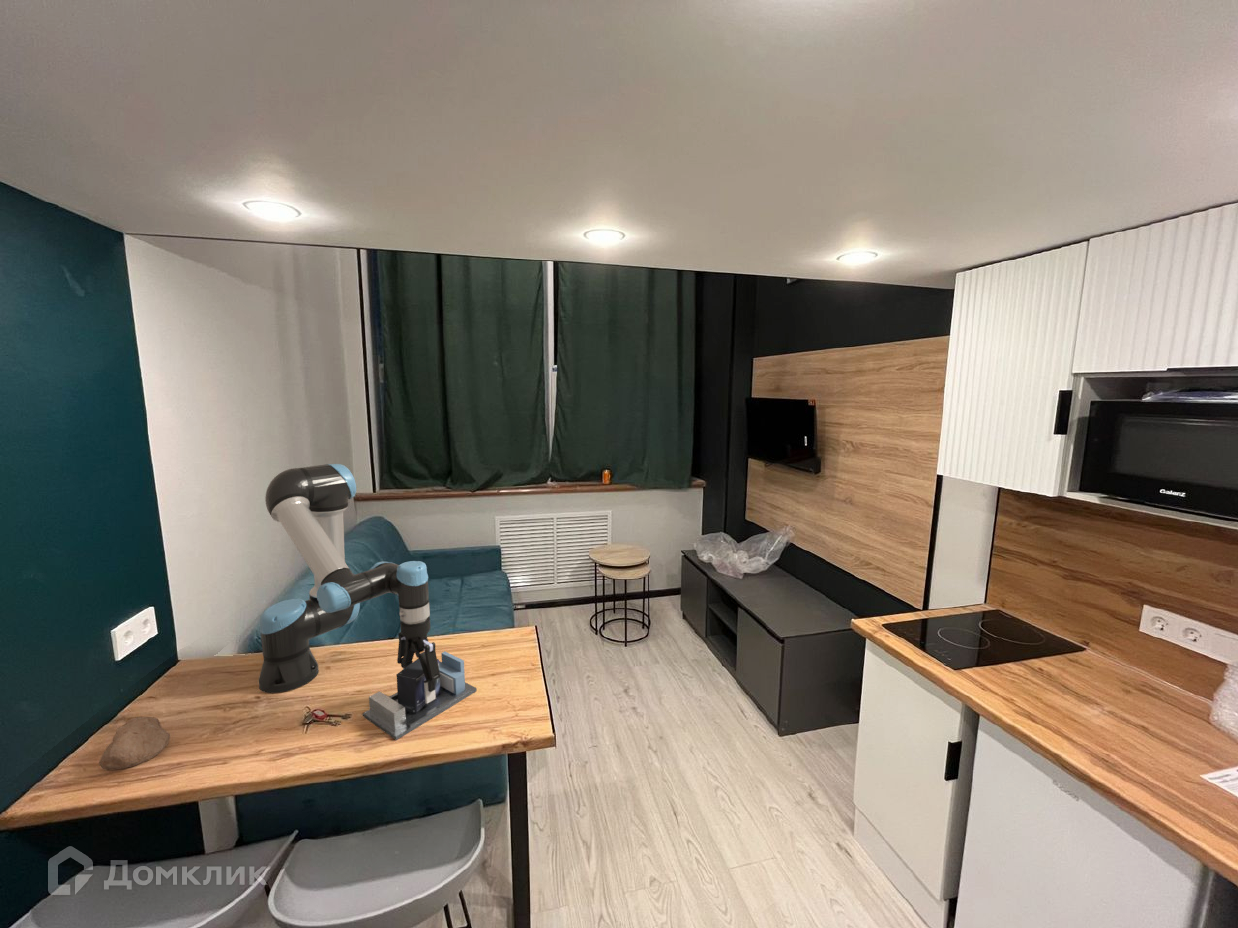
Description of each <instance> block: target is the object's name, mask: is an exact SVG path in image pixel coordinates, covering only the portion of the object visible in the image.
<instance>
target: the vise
mask: <svg viewBox="0 0 1238 928" xmlns="http://www.w3.org/2000/svg"><path fill="white" fill-rule="evenodd" d="M476 692H477V687H475V686H473V685H471V684H469V683H467V682H466V681H465V690H463V691H462V692H460V693H458V694H457V695H456V694H454V693H452V692H450V691H449V690H447V689H445V688H443V687H441V686H440V693H439V694H438V695H437V696H436V699H434V700H433V701H431V702H429V703H428V704H427V705H425V706H424V707H423V708H422V709H421V710H420V711H419V712H417V713H416V714H415V713H410V712H406V711H405V707H404V706H402V705H401V704H399V703H398V693H397V692H395V693H393V694H391V695H390V696H388V695H386V694H385V693H383V692H381V691H377V692H376V693H373V694H371V695H369V696H368V705H369V709H368V710H366V711H365V712H362V717H363V718H364V719H365V720H367V721H368V722H370V723H371V724H373V725H374V726H375V727H377V728H378V729H380V730H381V731H382V732H384V733H385V734H387V735H388V736H389V737H391V738H392V739H394V740H396V741H397V740H399V739H401V738H403V737H405V735H407V734H409V733H410V732H412V731H414V730H416V729H417V728H419V727H421V726H422V725H424V724H425V723H427V722H429V721H430V720H433V719H434V718H435V717H437V716H438V715H440V714H441V713H444V712H445V711H447V710H448V709H450V708H452V707H453V706H455V705H456V704H458V703H459V702H461V701H463V700H465V699H466V698H468V697H469V696H471V695H473V694H475V693H476Z"/></svg>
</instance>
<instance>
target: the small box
mask: <svg viewBox="0 0 1238 928" xmlns="http://www.w3.org/2000/svg"><path fill="white" fill-rule="evenodd" d="M439 661H440V659H439V658H437V662H438V667H439ZM424 680H426V678H425V675H424V672H423V669H422V666H421V663H420V660H419V658H417V659H416V660H413V663H411V664H410V665H409V666H407V667H406V668H404V669H403V668H402V670H400V671H399V672H397V674H396V690H397V692H396V693H398V703H399V704H401V705H402V706H404V707H405V711H406V712H410V713H415V714H416V713H417V712H419V711H420V710H421V709H422V708H423V707H424V706H425V705H427V704H428V703H425V689H424ZM439 693H440V678H438V679H436V680H435V696H437V695H438V694H439Z"/></svg>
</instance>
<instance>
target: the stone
mask: <svg viewBox="0 0 1238 928" xmlns="http://www.w3.org/2000/svg"><path fill="white" fill-rule="evenodd" d="M170 739H171V735H170V733H169V732H168V731H167V730H166V729H164V728H163V727H162V725H161V723H160V720H159V719H158V718H156V717H154V716H153V717H152V716H149V717H148V716H146V717H143V716H137V717H136V716H135V717H132V718H130V719H128V720H127V721H125V723H124V724H122V726H120V727H118V728H117V729H116V731H115V734H114V735H113V737H112V741H111V742H110V743H109V744H108V745H107V746H106V748H105V750H104V751H103V753H102V755H101V757H100V759H99V762H98V765H99V767H100V768H101V769H102V770H105V771H112V770H113V771H114V770H119V769H127V768H130V767H135V766H137V765H140V764H142V763H146V762H147V761H150V760H151V759H153V758H154V757H156V756H157V755H158V754H160V753H161V751H163V750H164V748H166V746H168V745H169V742H170Z"/></svg>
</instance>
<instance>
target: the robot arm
mask: <svg viewBox="0 0 1238 928" xmlns="http://www.w3.org/2000/svg"><path fill="white" fill-rule="evenodd" d="M356 493H357V484H356V480H355V477H354V475H353V473H352V472H351V470H350V469H349V468H348V467H347V466H345V465H344V464H341V463H331V464H330V463H326V464H318V465H311V466H305V467H304V466H303V467H294V468H289V469H285V470H283V471H281V472H279V473H278V474H276V475H275V476H274V477H273V478H272V480H271V481H270V482H269V484H268V486H267V488H266V492H265V496H264V497H265V498H264V499H265V501H264V502H265V506H266V509H267V512H268V514H269V515H270V517H271V518H272V519H273V521H275V522H278V523H280V524H281V525H282V527H283V529H284V531H285V533H287V535H288V537H289V538H290V540H291V542H292V544H293V545H294V546H295V547H296V549H297V551H298V552H299V553H300V555H301V557H302V558H303V560H304V562H305V563H306V564H307V566H308V568H309V569H310V570H311V572H312V574H313V577H314V586H313V587H312V588H311V589H309V593H308V594H309V599H307V600H304V599H302V598H291V599H285V600H282V601H279V602H277V603H274V604H272V605H270V606H269V607H268V608H265V610H264V611H263V612H262V614H261V615H260V617H259V633H260V640H261V648H262V657H263V663H262V665H261V670H260V673H259V677H258V688H259V690H260V691H261V692H264V693H267V694H279V693H284V692H289V691H292V690H296V689H298V688H301V687H303V686H304V685H307V684H308V683H310V682H312V681H313V680H314V679H315V678H316V677H317V676H318V675H319V671H320V669H319V663H318V661H317V660H316V658H315V656H314V654H313V652H312V650H311V649H310V640H311V639H315V638H316V637H319V636H321V635H323V634H326V633H329V632H332V631H334V630H336V629H339V628H343V627H344V626H346V625H348V624H350V623H352V622H354V621H355V619H357V617H358V615H359V613H360V607H361V603H364V602H366V601H368V600H372V599H375V598H378V597H380V596H382V595H387V594H388V593H390V594H393V595H396V596H398V606H399V613H398V614H399V616H400V617H399V619H400V622H399V624H400V625H399V626H400V632H398V634H397V636H398V648H397V659H396V660H397V663H398V665H401V666H400V667H401V669H402V670H403V669H404V668H406V667H407V666H409V665H410V664H411V663H413V662H414V660H413V659H414V655H415V656H416V658H417V659H418V658H419V660H420V663H421V666H422V669H423V672H424V675H425V678H426V680H424V689H425V703H429V702H431V701H433V700H434V699H436V696H435V680H436V679H438V678H440V672H439V667H438V662H437V659H438V657H437V651H436V643H435V642H434V641H432V642H429V638H428V633H429V632H431V631H430V630H431V618H430V616H431V613H430V600H429V599H430V598H429V596H430V594H429V575H428V570H427V569H428V567H427V565H426V563H425V562H423V561H420V560H410V561H406V562H402V563H401V564H397V563H394V562H390V561H378V562H376V563H375V564H373V566H371V567H370V568H369V570H368V569H367V570H365V571H362V572H359V573H355V574H354V573H353V571H352V570H351V569H350V568H349V566H348V565H347V563H346V556H345V530H344V529H345V527H344V525H345V524H344V513H345V511H346V510H347V509H348V507H349V500H351V499H353V498H354V497H356Z"/></svg>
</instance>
